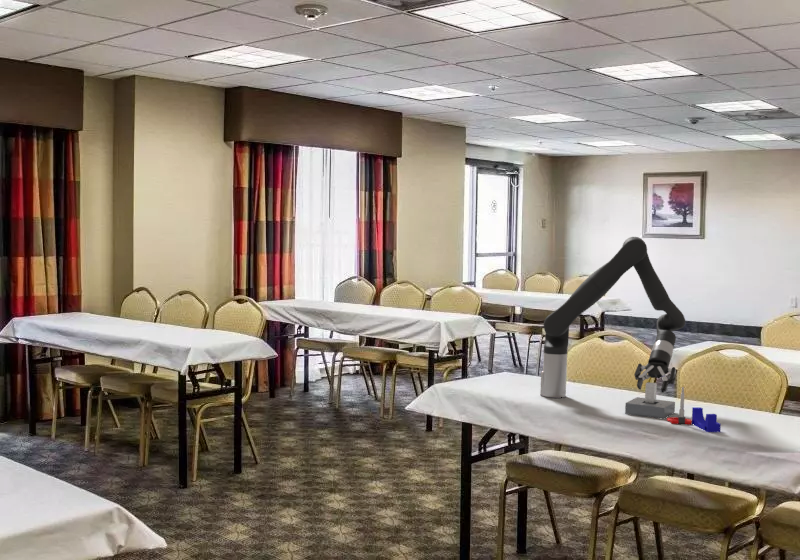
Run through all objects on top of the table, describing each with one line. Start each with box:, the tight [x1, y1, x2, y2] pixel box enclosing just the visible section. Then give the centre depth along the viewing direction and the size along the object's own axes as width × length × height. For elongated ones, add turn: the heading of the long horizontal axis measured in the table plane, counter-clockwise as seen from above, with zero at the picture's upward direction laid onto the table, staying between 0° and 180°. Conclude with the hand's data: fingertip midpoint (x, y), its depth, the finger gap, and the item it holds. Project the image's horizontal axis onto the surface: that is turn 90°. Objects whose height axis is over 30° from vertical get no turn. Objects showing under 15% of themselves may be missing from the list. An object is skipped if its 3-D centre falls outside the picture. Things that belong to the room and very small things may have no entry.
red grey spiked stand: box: [666, 386, 693, 426], centre depth 304 cm, size 8×13×9 cm
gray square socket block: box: [624, 396, 676, 420], centre depth 317 cm, size 14×14×4 cm
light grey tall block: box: [644, 381, 658, 404], centre depth 317 cm, size 3×3×11 cm
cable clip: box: [691, 406, 722, 433], centre depth 295 cm, size 12×4×6 cm, turn 6°
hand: (650, 389), depth 317 cm, fingers open, 8 cm apart
